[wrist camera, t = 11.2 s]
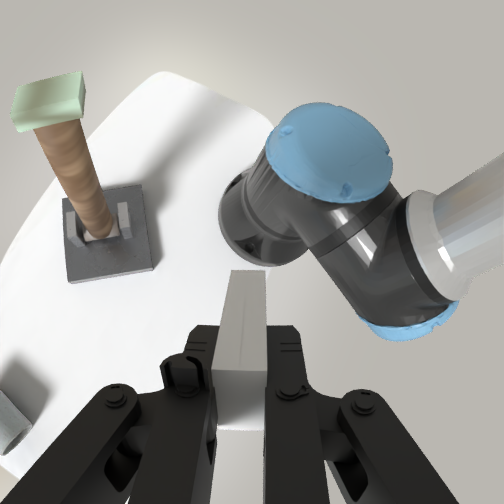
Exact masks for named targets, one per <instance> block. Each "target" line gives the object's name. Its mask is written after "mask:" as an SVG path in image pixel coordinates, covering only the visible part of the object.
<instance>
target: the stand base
mask: <svg viewBox="0 0 504 504" xmlns="http://www.w3.org/2000/svg"><path fill="white" fill-rule="evenodd" d="M102 192H103V195H104V197H105V200H106V203H107V206H108V208H109V211H110V214H113V213H117V216H118V221H119V229H120V236H115V237H109V238H104V239H98V240H92V241H85V238H84V235H83V228H82V221H81V219H80V217H79V216H78V214H77V212H76V210H75V209H74V207H73V205H72V203H71V202H70V200H69V198H63V199H62V209H63V232H64V247H65V259H66V269H67V278H68V282H69V283H71V284H75V283H81V282H87V281H93V280H99V279H105V278H111V277H117V276H123V275H128V274H134V273H140V272H146V271H152V270H153V266H152V260H151V254H150V248H149V241H148V234H147V227H146V219H145V212H144V204H143V195H142V187H141V185H136V186H130V187H124V188H117V189H111V190H106V191H102Z"/></svg>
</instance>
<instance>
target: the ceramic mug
mask: <svg viewBox="0 0 504 504" xmlns="http://www.w3.org/2000/svg"><path fill="white" fill-rule="evenodd" d="M31 428H32V424H31V422H30V421H29V420H28V419H27V418H26V417H25V416H24V415H23V414H22V413H21V412H20V411H19V410H18V409H17V408H16V407H15V405H14V404H13V403H12V402H11V401H10V400H9V399H8V397H7V396H6V395H5V394H4V393H3V392H2V391H1V390H0V455H1V456H4V455H6V454H8V453H9V452H10V451H11V450H13V449H14V448H15V447H16V446H17V445H18V444H19V443H20V442H21V441H22V440H23V439H24V437H25V436H26V435H27V434H28V433H29V432H30V430H31Z"/></svg>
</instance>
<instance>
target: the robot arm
mask: <svg viewBox="0 0 504 504" xmlns="http://www.w3.org/2000/svg"><path fill="white" fill-rule="evenodd" d="M389 151H390V150H389V147H388V145H387V143H386V141H385V140H384V138H383V137H382V135H381V134H380V133H379V132H378V130H377V129H376V128H375V127H374V126H373V125H372V124H371V123H370V122H368V121H367V120H366V119H365V118H363V117H362V116H360V115H359V114H357V113H355V112H353V111H352V110H349V109H347V108H345V107H342V106H334V105H332V104H329V103H309V104H305V105H301V106H299V107H297V108H295V109H293V110H292V111H290V112H289V113H288V114H287V115H286V116H285V117H284V118H283V119H282V120H281V122H280V123H279V125H278V126H277V127H275V128H274V130H273V131H272V132H271V133H270V135H269V136H268V138H267V141H266V144H265V146H264V147H263V149H262V151H261V153H260V154H259V156H258V158H257V160H256V162H255V163H254V165H253V167H252V168H251V169H249V170H247V171H245V172H243V173H241V174H239V175H238V176H237V177H235V178H234V179H233V180H232V181H231V183H230V184H229V185H228V187H227V188H226V190H225V192H224V194H223V196H222V198H221V201H220V205H219V211H218V219H219V225H220V229H221V232H222V234H223V237H224V239H225V240H226V242H227V243H228V245H229V246H230V247H231V248H232V250H233V251H234V252H235V253H237V254H238V255H239V256H240V257H242V258H243V259H245V260H247V261H249V262H251V263H253V264H256V265H260V266H267V267H274V266H281V265H284V264H287V263H289V262H291V261H293V260H295V259H297V258H299V257H300V256H301V255H303V254H304V253H305V252H306V251H307V250H308V249H309V250H310V251H311V252H312V253H313V255H314V256H315V257H316V259H317V260H318V261H319V263H320V264H321V265H322V267H323V268H324V269H325V271H326V272H327V273H328V275H329V276H330V277H331V278H332V280H333V281H334V283H335V284H336V285H337V287H338V288H339V289H340V291H341V292H342V293H343V295H344V296H345V298H346V299H347V300H348V302H349V303H350V304H351V306H352V307H353V309H354V310H355V312H356V314H357V315H358V316H359V318H360V319H361V320H362V321H363V322H365V323H366V324H367V325H368V326H369V327H370V329H371V330H372V331H373V332H374V333H375V334H376V335H377V336H379V337H381V338H383V339H385V340H389V341H408V340H413V339H416V338H419V337H422V336H424V335H426V334H428V333H430V332H432V330H433V327H434V326H436V325H439V326H441V325H442V324H443V323H445V322H446V321H447V320H448V319H449V318H450V317H451V315H452V314H453V312H454V311H455V310H456V308H457V306H458V303H459V300H460V299H462V298H464V297H465V296H466V294H467V292H468V290H469V287H470V284H471V282H472V279H473V278H474V277H476V276H478V275H480V274H483V273H485V272H487V271H490V270H492V269H494V268H496V267H498V266H500V265H503V264H504V153H502V154H501V155H499V156H498V157H496V158H495V159H493V160H492V161H490V162H489V163H487V164H486V165H484V166H483V167H481V168H480V169H478V170H477V171H475V172H473V173H472V174H471V175H469V176H467V177H466V178H464V179H463V180H461V181H460V182H458V183H456V184H455V185H453V186H452V187H450V188H449V189H447V190H445V191H444V192H442V193H441V194H439V195H436V194H433V193H430V192H427V191H424V190H418V191H415V192H413V193H412V194H410V195H409V196H407V197H406V198H404V199H403V198H402V197H401V196H400V195H399V193H398V192H397V190H396V189H395V188H394V187H393V185H392V184H391V182H390V181H389V180H390V178H391V175H392V169H393V167H392V166H393V162H392V158H391V157H389V156H388V153H389ZM160 370H161V375H162V379H163V383H164V389H162V390H160V391H156V392H152V393H144V394H137V393H136V391H135V390H134V389H133V388H132V387H130V386H128V385H126V384H120V383H119V384H111V385H108V386H106V387H104V388H102V389H101V390H100V391H98V392H97V394H96V395H95V396H94V397H93V398H92V399H91V400H90V401H89V402H88V404H87V405H86V406H85V407H84V408H83V409H82V410H81V411H80V412H79V414H78V415H77V416H76V417H75V418H74V419H73V420H72V421H71V423H70V424H69V425H68V426H67V427H66V428H65V429H64V430H63V432H62V433H61V434H60V435H59V436H58V437H57V438H56V439H55V441H54V442H53V443H52V444H51V445H50V446H49V447H48V449H47V450H46V451H45V452H44V453H43V454H42V455H41V457H40V458H39V459H38V460H37V461H36V462H35V463H34V465H33V466H32V467H31V468H30V469H29V470H28V471H27V473H26V474H25V475H24V476H23V477H22V478H21V480H20V481H19V482H18V483H17V484H16V485H15V487H14V488H13V489H12V490H11V491H10V492H9V494H8V495H7V496H6V497H5V498H4V499H3V501H2V502H1V503H0V504H125V503H126V501H127V499H128V498H129V496H130V498H129V501H128V504H210V495H211V488H212V480H213V472H214V464H215V456H216V448H217V438H216V429H217V423H218V429H225V430H259V431H262V430H263V431H264V451H263V456H264V468H263V469H264V470H263V472H264V473H263V504H330V501H329V494H328V486H327V478H326V471H325V464H324V460H326V462H327V464H328V466H329V468H330V470H331V472H332V474H333V477H334V479H335V481H336V483H337V485H338V487H339V489H340V491H341V493H342V495H343V497H344V499H345V501H346V503H347V504H459V503H458V502H457V501H456V499H455V497H454V496H453V494H452V493H451V492H450V490H449V489H448V487H447V486H446V484H445V483H444V482H443V480H442V479H441V478H440V476H439V475H438V473H437V472H436V470H435V469H434V468H433V466H432V465H431V463H430V462H429V461H428V459H427V458H426V456H425V455H424V454H423V452H422V451H421V449H420V448H419V447H418V445H417V444H416V442H415V441H414V440H413V438H412V437H411V436H410V434H409V433H408V431H407V430H406V429H405V427H404V426H403V424H402V423H401V422H400V420H399V419H398V418H397V416H396V415H395V413H394V412H393V411H392V409H391V408H390V407H389V405H388V404H387V403H386V401H385V400H384V399H383V398H382V397H381V396H380V395H379V394H378V393H375V392H373V391H371V390H365V389H358V390H353V391H350V392H348V393H346V394H345V395H344V397H343V398H342V399H340V398H335V397H329V396H326V395H322V394H320V393H318V392H316V391H315V390H314V389H313V388H312V387H311V385H309V383H308V380H307V374H306V368H305V362H304V356H303V351H302V345H301V338H300V333H299V332H298V331H297V330H296V329H295V328H294V327H293V325H290V326H289V325H287V326H266V283H265V271H258V270H231V275H230V279H229V284H228V289H227V294H226V298H225V303H224V308H223V313H222V318H221V323H220V326H213V325H197V326H196V327H195V328H194V329H193V330H192V331H191V332H190V333H189V336H188V339H187V343H186V345H185V348H184V351H183V353H178V354H175V355H172V356H169V357H168V358H166V359H165V360H163V362H162V363H161V365H160Z"/></svg>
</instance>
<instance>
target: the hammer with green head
mask: <svg viewBox="0 0 504 504" xmlns="http://www.w3.org/2000/svg"><path fill="white" fill-rule="evenodd" d="M85 93H86V89H85V84H84V79H83V74H82V71H79V72H74V73H69V74H65V75H61V76H56V77H52V78H48V79H44V80H40V81H36V82H33V83H30V84H26V85H23V86H19V87H18V88H17V91H16V94H15V98H14V101H13V105H12V109H11V113H10V117H11V119H12V120H13V123H14V125H15V127H16V129H17V131H18V132H19V133H20V132H24V131H27V130H32V129H33V130H34V132H35V134H36V136H37V138H38V141H39V142H40V145H41V147H42V149H43V151H44V153H45V155H46V157H47V159H48V161H49V163H50V164H51V167H52V169H53V170H54V172H55V174H56V176H57V178H58V180H59V182H60V184H61V186H62V187H63V189H64V191H65V193H66V195H67V196H68V198H69V200H70V202H71V203H72V205H73V207H74V209H75V210H76V212H77V214H78V216H79V217H80V219H81V221H82V228H83V235H84V238H85V241H92V240H98V239H104V238H109V237H115V236H120V229H119V221H118V216H117V213H113V214H110V211H109V208H108V206H107V203H106V200H105V197H104V195H103V192H102V189H101V186H100V183H99V180H98V177H97V174H96V171H95V168H94V165H93V162H92V159H91V156H90V153H89V149H88V146H87V143H86V139H85V136H84V133H83V129H82V126H81V122H80V118H83V114H84V113H83V112H84V102H85Z"/></svg>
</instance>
